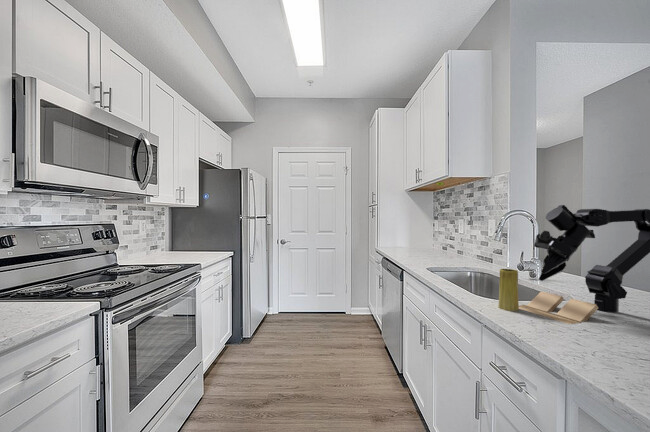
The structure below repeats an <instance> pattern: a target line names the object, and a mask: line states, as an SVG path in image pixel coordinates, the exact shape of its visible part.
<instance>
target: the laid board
mask: <svg viewBox="0 0 650 432" xmlns="http://www.w3.org/2000/svg"><path fill="white" fill-rule="evenodd" d="M519 310H522V311H525V312H529V313H532V314H535V315H538V316H541V317H545V318H548V319H550V320H551V319H552V320H553V321H557V322H561V323H563V324H567V325H573V324H582V323H583V322H580V321H577V320H574V319H570V318H567V317H563V316H560V315H557V313H552V312H547V311H543V310H540V309H536V308H533V307H530V306H527V305H526V304H521V305H519Z"/></svg>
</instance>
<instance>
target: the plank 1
mask: <svg viewBox="0 0 650 432" xmlns="http://www.w3.org/2000/svg"><path fill="white" fill-rule="evenodd" d="M564 300H565V299H564V297H563V296H562V295H558V294H553V293H549V292H545V291H540V292H539V293H538V294H537V295H535V297H534V298H533V299H532V300H531V301H530V302H529V303H527V305H526V306H530V307H533V308H536V309H540V310H543V311H547V312H550V313H552V312H554V310H555V309H556V308H558V306H560V304H561V303H562V302H564Z"/></svg>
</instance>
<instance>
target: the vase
mask: <svg viewBox="0 0 650 432" xmlns="http://www.w3.org/2000/svg"><path fill="white" fill-rule="evenodd" d="M518 271H519V270H517V269H511V268H499V285H498V286H499V288H498V289H499V290H498V309H500V310H504V311H509V312H517V311H519V310H520V309H519V306H520V305H519V272H518Z"/></svg>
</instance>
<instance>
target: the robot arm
mask: <svg viewBox="0 0 650 432" xmlns="http://www.w3.org/2000/svg"><path fill="white" fill-rule="evenodd" d="M545 220H546V221H547V222H548V223H550V224H551V225H552V226H553V227H554V228H556V229H557V230H558V231H559V232H561V231H562V232H563V231H564V232H563V234H561V235H558V236H557V237H553V235H551V233H550V231H549V230H543V231H542V232H541V233H538V234H536V236H535V239H534V240H535V241H534V245H533V246H534V248H537V249H539V248H540V249H543V250H546V253H547V255H546V256H545V258H544V259H543V266H542V269H541V274H540V276H539V278H538V280H539V281H541V282H543V281H545V280H547V279H550V278H552V277H553V276H556V275H558V274H560V273H562V272H563V271H564V270H565V269H566V267H567V264H566V262H568V261H570V259H571V257H573V255H574V254H575V252H577V251H578V249H579V247H580V246H581V245H582V244H583V242H584V241H585V240H586V239H595V238H596V234H595V233H594V230H593V229H589V228H588V227H600V226H601V227H602V226H605V225H608V224H610V223H620V222H621V223H622V222H634V224H635V228H636V229H637V230H638V231H639V232H638V235H637V239H636V240H635V241H634V242H633V243H632V244H631V245H630V246H629V247H627V248H626V249H624V251H622V252H621V253H620V254H619V255H617V256H616V257H615V258H614V259H613V260H612V261H610V262H609V264H607V265H601V264H600V265H599V264H596V265H594V266H593V267H592V269H590V270H588V271H587V274H586V275H585V277H584V279H585V280H584V281H585V285H586V286H587V290H588V291H589V293H590V294H594V302H593V304H596V305H597V306H598V309H597V310H596V311H598V312H599V311H600V312H602V313H618V312H619V303H620V302H619V301H620V300H621V299H626V296H627V294H628V291H626V290H625V288H624V287H623V286H622V284H623V278H624V277H623V276H624V275H625V274H626V273H628V272H629V271H630V270H631V269H633V268H634V267H635V266H636V265H637V264H639V262H641V261H642V260H643V259H644V258H646V257H647V256H648V255H649V254H650V208H649V209H648V208H637V209H636V208H635V209H628V210H607V209H602V208H601V209H600V208H581V209H578V210H577V211H576V212H575V213H573V212H572V211H571V210H569V209H568V207H567V206H566V205H565V204H560V205H558V206H557V207H555V208H553V209H552V210H550V211H548V212H547V213H546V215H545ZM619 313H620V312H619Z"/></svg>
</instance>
